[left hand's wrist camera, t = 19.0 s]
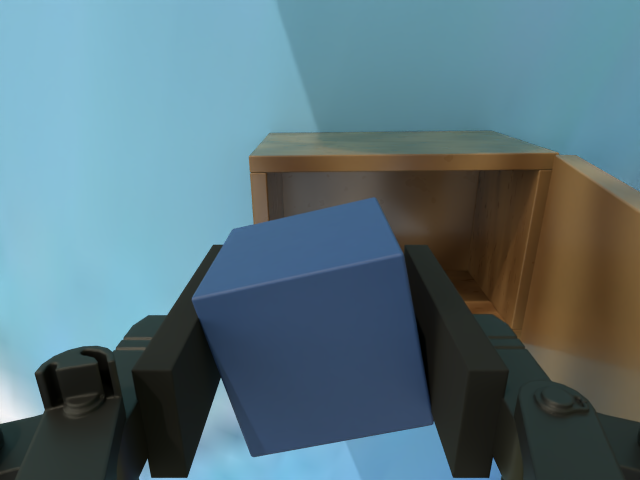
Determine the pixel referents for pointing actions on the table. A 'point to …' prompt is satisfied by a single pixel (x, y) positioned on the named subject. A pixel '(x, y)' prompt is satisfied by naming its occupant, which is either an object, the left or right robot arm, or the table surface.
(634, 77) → the table surface
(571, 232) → the lid
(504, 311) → the chest
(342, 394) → the block
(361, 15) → the table surface
